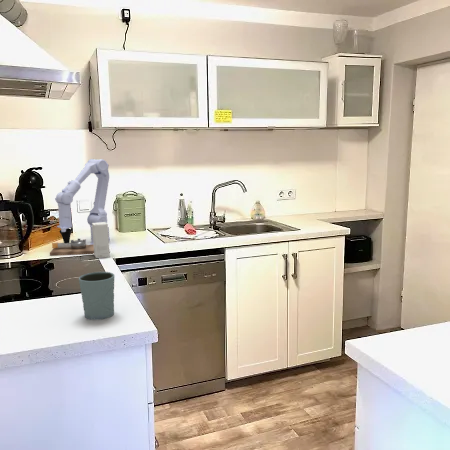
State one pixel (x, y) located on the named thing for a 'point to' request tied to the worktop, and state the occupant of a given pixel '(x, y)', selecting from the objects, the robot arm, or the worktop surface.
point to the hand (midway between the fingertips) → (66, 243)
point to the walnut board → (72, 251)
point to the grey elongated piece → (71, 244)
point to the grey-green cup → (97, 294)
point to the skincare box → (100, 240)
